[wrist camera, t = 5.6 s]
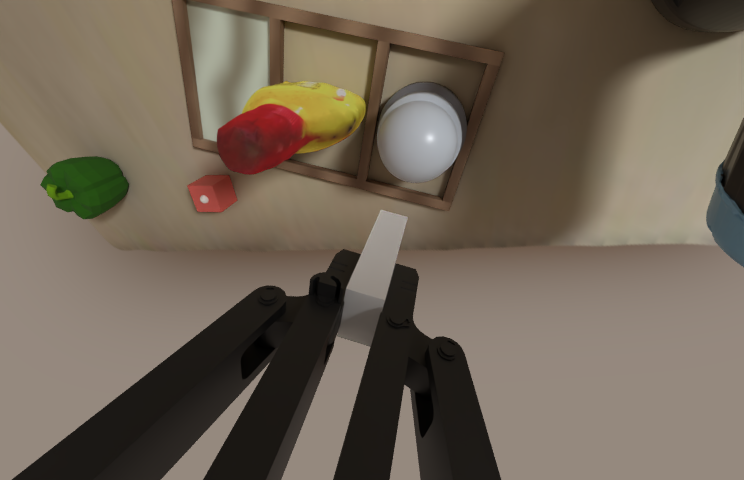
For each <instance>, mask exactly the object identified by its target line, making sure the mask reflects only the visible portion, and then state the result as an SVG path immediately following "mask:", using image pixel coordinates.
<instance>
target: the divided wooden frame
mask: <svg viewBox="0 0 744 480" xmlns="http://www.w3.org/2000/svg"><path fill="white" fill-rule="evenodd" d="M172 3H173V10H174V17H175V23H176V30H177V37H178V44H179V51H180V58H181V65H182V72H183V79H184V85H185V92H186V99H187V106H188V113H189V120H190V127H191V134H192V141H193V146H194V147H198V148H202V149H206V150H210V151H214V152H218V148H217V132H218V129H219V128H220V127H222V126H223V125H225V124H226V123H227V122H229V121H230V120H232V119H233V118H235V117H236V116H238V115H240V114H242V111H243V109H244V107H245V105H246V103H247V101H248V100H249V98H250V97H251V96H252V95H253V94H254V93H255V92H256V91H257V90H259V89H260V88H262V87H265V86H272V85H275V84H280V83H283V64H284V20H285V21H289V22H294V23H299V24H303V25H308V26H313V27H317V28H322V29H327V30H332V31H336V32H341V33H346V34H350V35H355V36H360V37H364V38H369V39H374V40H378V46H377V52H376V59H375V65H374V72H373V78H372V84H371V91H370V97H369V104H368V110H367V117H366V123H365V129H364V136H363V142H362V149H361V155H360V162H359V168H358V174H357V176H355V175H351V174H347V173H343V172H339V171H335V170H331V169H327V168H323V167H319V166H315V165H311V164H307V163H303V162H299V161H295V160H291V159H288V160H285V161H283V162H282V163H281V164H279V165H277V166H275V167H277V168H281V169H284V170H288V171H292V172H296V173H300V174H304V175H308V176H312V177H316V178H320V179H324V180H328V181H332V182H336V183H340V184H343V185H347V186H351V187H355V188H359V189H363V190H367V191H371V192H375V193H379V194H383V195H387V196H391V197H395V198H399V199H402V200H406V201H410V202H414V203H418V204H422V205H426V206H430V207H434V208H438V209H442V210H446V211H449V210H450V207H451V204H452V201H453V198H454V196H455V193H456V190H457V187H458V184H459V181H460V179H461V176H462V173H463V170H464V167H465V164H466V161H467V159H468V156H469V153H470V150H471V147H472V144H473V142H474V139H475V136H476V133H477V130H478V127H479V125H480V122H481V119H482V116H483V113H484V110H485V107H486V105H487V102H488V99H489V96H490V93H491V90H492V88H493V85H494V82H495V79H496V76H497V73H498V70H499V68H500V65H501V62H502V59H503V56H504V52H499V51H494V50H490V49H485V48H480V47H475V46H471V45H466V44H461V43H456V42H451V41H447V40H442V39H437V38H432V37H428V36H423V35H418V34H413V33H409V32H404V31H399V30H394V29H390V28H385V27H380V26H375V25H370V24H366V23H361V22H356V21H351V20H347V19H342V18H337V17H332V16H328V15H323V14H318V13H313V12H309V11H304V10H299V9H294V8H289V7H285V6H280V5H275V4H270V3H266V2H261V1H256V0H172ZM391 43H392V44H397V45H402V46H406V47H411V48H416V49H420V50H425V51H430V52H434V53H439V54H444V55H449V56H453V57H458V58H463V59H467V60H472V61H477V62H481V63H486V64H487V65H486V68H485V71H484V74H483V77H482V80H481V83H480V86H479V89H478V92H477V95H476V98H475V102H474V105H473V108H472V111H471V114H470V117H469V120H468V123H467V122H466V115H465V112H464V108H463V106H462V104H461V102H460V101H459V99H458V98H457V97H456V95H455V94H454V93H453V92H451V91H450V90H449V89H447V88H446V87H444V86H442V85H440V84H437V83H433V82H417V83H413V84H410V85H408V86H405V87H404V88H402V89H400V90H399V91H398V92H396V93H395V94H394V95H393V96H392V97H391V98H390V99H389V101H388V102H387V103H386V105H385V106H384V108H383V110H382V113H381V115H380V119H379V124H380V121H381V119H382V117H383V115H384V114H385V113H386V111H387V110H388V109H389V108H390V107H391V106H392V104H393V103H394V102H395V101H397V100H398V99H399V98H401V97H402V96H404V95H407V94H409V93H412V92H418V91H427V92H432V93H436V94H438V95H440V96H442V97H444V98H445V99H447V100H448V101H449V102H450V103H451V104H452V106H453V107H454V108H455V110H456V111H457V113H458V116H459V119H460V122H461V130H462V142H461V147H460V151H459V153H458V156H457V157H456V159H455V162H454V165H453V168H452V171H451V174H450V177H449V180H448V183H447V186H446V189H445V192H444V195H443V198H442V197H438V196H434V195H430V194H427V193H423V192H419V191H415V190H411V189H407V188H403V187H399V186H395V185H391V184H387V183H383V182H379V181H375V180H371V179H367V178H368V172H369V166H370V161H371V155H372V149H373V143H374V138H375V132H376V126H377V121H378V115H379V109H380V103H381V98H382V92H383V86H384V81H385V75H386V69H387V63H388V58H389V52H390V46H391ZM379 124H378V127H379ZM218 153H219V152H218Z"/></svg>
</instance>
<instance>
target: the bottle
mask: <svg viewBox="0 0 744 480" xmlns="http://www.w3.org/2000/svg"><path fill="white" fill-rule="evenodd" d="M365 112H366V104H365V101H364V100H363V99H362V98H361V97H360V96H358V95H356V94H353V93H351V92H350V91H348V90H345V89H340V88H338V87H335V86H332V85H329V84H327V83H316V82H308V81H303V82H295V83H290V82H288V81H285V82H283V83H280V84H275V85H272V86H265V87H262V88H260V89H259V90H257V91H256V92H255V93H254V94H253V95H252V96H251V97H250V98H249V100H248V101H247V103H246V105H245V107H244V109H243V111H242V114H240V115H238V116H236V117H235V118H233V119H232V120H230V121H229V122H227V123H226V124H225V125H223V126H222V127H220V128H219V129H218V132H217V148H218V152H219V155H220V157H221V159H222V161H223V162H224V163H225V165H226V166H227V167H228V168H229V169H230V170H232V171H234V172H238V173H243V174H256V173H259V172H262V171H264V170H267V169H270V168H273V167H275V166H277V165H279V164H281V163H282V162H283V161H285V160H288V159H289V158H290V157H291V156H293V155H294V154H300V153H308V152H314V151H318V150H321V149H324V148H327V147H329V146H332V145H334V144H336V143H338V142H340V141H342V140H344V139H345V138H347V137H348V136H350V135H351V134H352V133H353V132H354V131H355V130H356V129H357V128H358V126H359V125H360V123H361V121H362V120H363V118H364V116H365Z"/></svg>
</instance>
